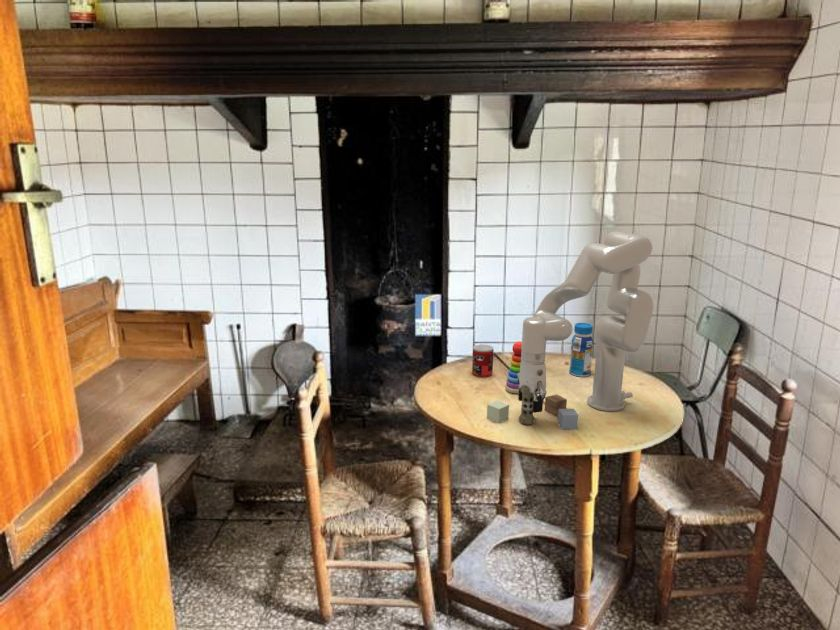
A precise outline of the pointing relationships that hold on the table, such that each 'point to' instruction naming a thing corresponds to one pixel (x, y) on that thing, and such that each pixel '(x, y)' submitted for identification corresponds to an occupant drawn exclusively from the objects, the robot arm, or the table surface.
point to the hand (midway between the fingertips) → (530, 405)
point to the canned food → (482, 360)
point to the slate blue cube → (567, 418)
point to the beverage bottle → (581, 350)
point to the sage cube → (497, 411)
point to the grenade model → (527, 406)
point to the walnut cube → (554, 404)
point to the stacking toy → (514, 369)
